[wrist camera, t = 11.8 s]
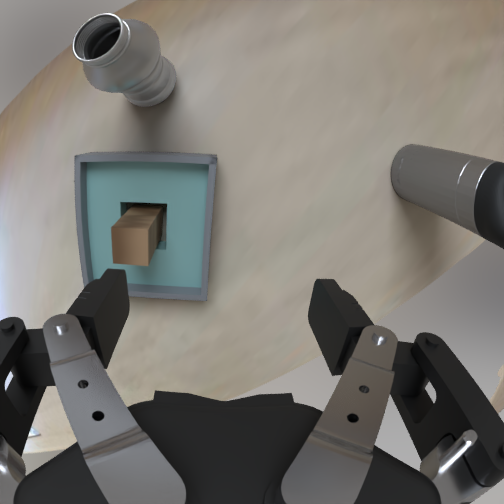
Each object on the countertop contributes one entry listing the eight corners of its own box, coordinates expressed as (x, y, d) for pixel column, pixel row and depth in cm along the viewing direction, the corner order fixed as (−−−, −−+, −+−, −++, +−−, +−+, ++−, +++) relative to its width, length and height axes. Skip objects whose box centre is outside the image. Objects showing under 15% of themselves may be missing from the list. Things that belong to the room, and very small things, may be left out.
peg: (163, 205, 37) (148, 229, 28) (162, 234, 38) (148, 266, 29) (134, 204, 36) (111, 227, 27) (134, 232, 37) (112, 263, 28)
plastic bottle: (118, 93, 30) (36, 64, 12) (150, 51, 28) (98, -16, 10) (156, 117, 32) (98, 101, 14) (189, 75, 31) (168, 15, 12)
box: (216, 154, 35) (217, 157, 31) (206, 282, 42) (206, 300, 37) (90, 152, 32) (74, 155, 28) (96, 275, 39) (84, 292, 34)
